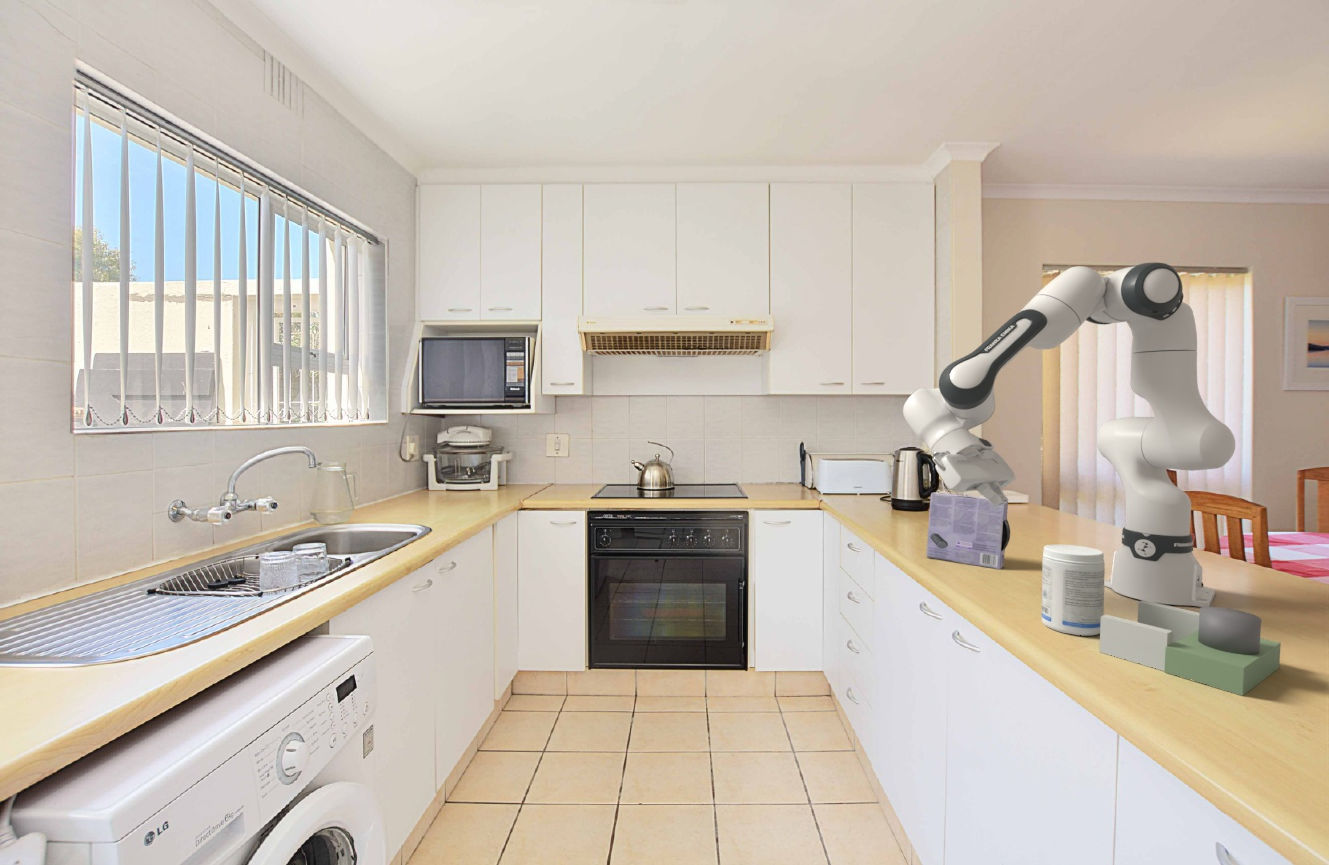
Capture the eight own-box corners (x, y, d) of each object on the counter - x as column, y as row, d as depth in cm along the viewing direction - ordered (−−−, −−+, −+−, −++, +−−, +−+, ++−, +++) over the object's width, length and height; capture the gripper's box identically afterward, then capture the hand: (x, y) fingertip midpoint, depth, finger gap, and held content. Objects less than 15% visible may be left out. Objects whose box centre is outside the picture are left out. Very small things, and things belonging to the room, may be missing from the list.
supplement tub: (1112, 631, 113) (1115, 551, 112) (1088, 641, 107) (1092, 557, 107) (1054, 616, 121) (1057, 541, 120) (1030, 625, 115) (1033, 546, 115)
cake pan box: (1009, 567, 159) (1012, 498, 158) (1005, 571, 155) (1008, 500, 154) (931, 555, 171) (933, 491, 170) (925, 558, 167) (927, 493, 166)
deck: (1142, 632, 112) (1144, 583, 112) (1279, 667, 97) (1282, 611, 97) (1097, 652, 102) (1100, 599, 102) (1242, 695, 87) (1245, 633, 87)
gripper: (939, 442, 124) (985, 497, 117) (994, 441, 136) (1039, 490, 128) (918, 463, 128) (961, 517, 121) (973, 459, 140) (1016, 509, 132)
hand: (1002, 503), depth 124 cm, fingers closed
